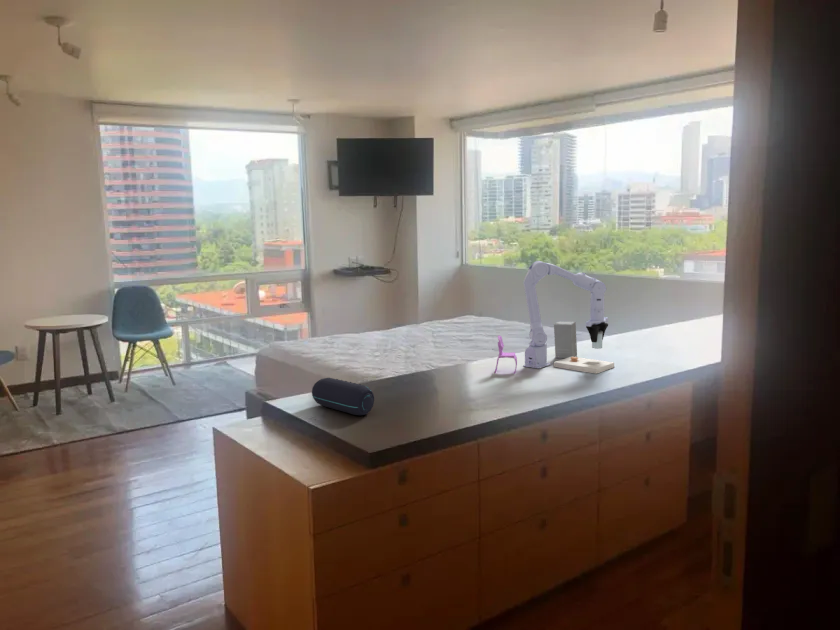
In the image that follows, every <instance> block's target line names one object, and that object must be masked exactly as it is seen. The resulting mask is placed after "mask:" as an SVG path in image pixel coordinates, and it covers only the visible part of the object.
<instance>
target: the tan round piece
mask: <svg viewBox="0 0 840 630" xmlns="http://www.w3.org/2000/svg"><path fill="white" fill-rule="evenodd" d="M577 359H578V356H576V357H571V361H572V362H577Z"/></svg>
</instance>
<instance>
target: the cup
mask: <svg viewBox="0 0 840 630" xmlns="http://www.w3.org/2000/svg"><path fill="white" fill-rule="evenodd" d="M602 334H603V331H598V336H597V342H591V348H592V349H594V350H596V349H597V350H598V349H599V350H600V349H603V340H602Z"/></svg>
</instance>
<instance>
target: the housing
mask: <svg viewBox="0 0 840 630" xmlns="http://www.w3.org/2000/svg"><path fill="white" fill-rule="evenodd" d="M577 357H578V356H577ZM553 367H554V368H560V369H567V370H571V371H572V370H573V371H577V372H582V373H583V372H585V373H590V374H596V375H597V374H599V373H602V372H605V371H607V370H610V369H614V368H615V362H614V361H613V362H612V361H605V360H599V359H592V358H584V357H578V359H577V362H572V361H571V357H569V358H561V359H559V360H556V361H554V362H553Z"/></svg>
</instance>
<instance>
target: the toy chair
mask: <svg viewBox="0 0 840 630" xmlns="http://www.w3.org/2000/svg"><path fill="white" fill-rule="evenodd" d="M497 339H498V342H497V348H498V355H497V356H498V357H497V360H496V366H495V369H494V370H495V371H494V374H496V373H497V369H498V365H499V361H500V360H499V359H502V358H504V359H505V358H509V359H514V362H515V369H514V374H516V372H517V366H518V358H517V355H516V352H504V351H503V349H504V347H505V344H504V341H503V337H502V336H501V335H497Z"/></svg>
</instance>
